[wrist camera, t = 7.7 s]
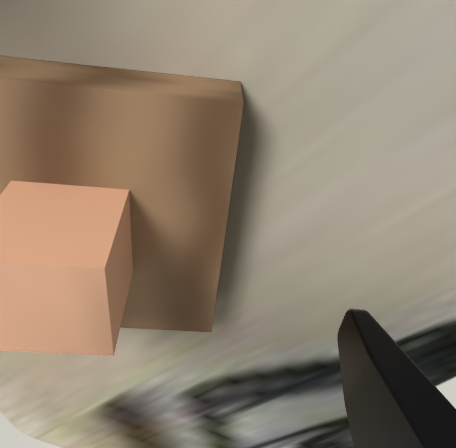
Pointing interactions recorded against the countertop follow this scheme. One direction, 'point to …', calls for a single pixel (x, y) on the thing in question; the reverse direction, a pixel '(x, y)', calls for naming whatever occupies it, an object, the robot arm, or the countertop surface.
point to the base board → (135, 168)
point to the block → (63, 267)
